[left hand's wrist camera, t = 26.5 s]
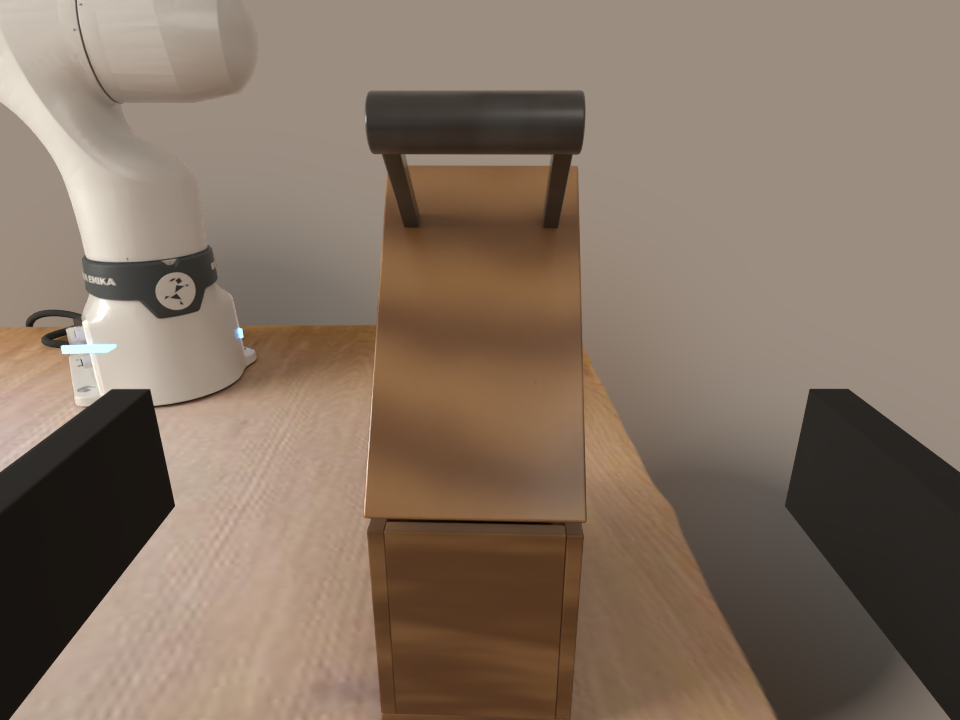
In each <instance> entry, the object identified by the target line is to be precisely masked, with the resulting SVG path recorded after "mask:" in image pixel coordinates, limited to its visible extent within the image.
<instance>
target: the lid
mask: <svg viewBox="0 0 960 720" xmlns="http://www.w3.org/2000/svg"><path fill="white" fill-rule="evenodd" d="M365 126H366V135H367V141H368V145H369V148H370V150H371V152H372V153H373V154H382V156H383V159H384V163H385V166H386V169H387V181H386V196H385V210H384V224H383V239H382V253H381V267H380V282H379V296H378V311H377V325H376V340H375V354H374V368H373V383H372V397H371V412H370V426H369V441H368V455H367V469H366V484H365V498H364V513H363V516H364V517H365V518H370V519H413V520H460V521H508V522H555V523H584V522H586V520H587V517H586V476H585V435H584V394H583V352H582V313H581V270H580V229H579V188H578V167H577V166H570V165H571V160H572V155H573V154H575V155H576V154H580V152H581V150H582V145H583V139H584V129H585V96H584V93H583V91H580V90H579V91H578V90H576V91H575V90H574V91H573V90H572V91H369V92H368V94H367V97H366V103H365ZM405 154H551V160H550V166H408V165H407V161H406V157H405Z"/></svg>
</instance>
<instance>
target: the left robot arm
mask: <svg viewBox="0 0 960 720" xmlns="http://www.w3.org/2000/svg"><path fill="white" fill-rule="evenodd" d="M174 507H175V503H174V499H173V494H172V489H171V484H170V480H169V475H168V470H167V466H166V461H165V456H164V451H163V447H162V442H161V437H160V433H159V428H158V423H157V418H156V414H155V409H154V404H153V400H152V395H151V390H150V389H111V390H110V391H108V392H107V393H106V394H104V395H103V396H102V397H100V398H99V399H98V400H96V401H95V402H94V403H92V404H91V405H90V406H88V407H87V408H86V409H84V410H83V411H82V412H80V413H79V414H78V415H76V416H75V417H74V418H72V419H71V420H70V421H68V422H67V423H66V424H64V425H63V426H62V427H60V428H59V429H58V430H56V431H55V432H54V433H52V434H51V435H50V436H48V437H47V438H46V439H44V440H43V441H41V442H40V443H39V444H37V445H36V446H35V447H33V448H32V449H31V450H29V451H28V452H27V453H25V454H24V455H23V456H21V457H20V458H19V459H17V460H16V461H15V462H13V463H12V464H11V465H9V466H8V467H7V468H5V469H4V470H3V471H1V472H0V720H9V719H10V718H11V716H12V715H13V714H14V712H15V711H16V710H17V709H18V707H19V706H20V705H21V703H22V702H23V701H24V700H25V698H26V697H27V696H28V694H29V693H30V692H31V691H32V689H33V688H34V687H35V685H36V684H37V683H38V682H39V680H40V679H41V678H42V676H43V675H44V674H45V673H46V671H47V670H48V669H49V667H50V666H51V665H52V664H53V662H54V661H55V660H56V658H57V657H58V656H59V655H60V653H61V652H62V651H63V649H64V648H65V647H66V646H67V644H68V643H69V642H70V640H71V639H72V638H73V637H74V635H75V634H76V633H77V631H78V630H79V629H80V628H81V626H82V625H83V624H84V622H85V621H86V620H87V619H88V617H89V616H90V615H91V613H92V612H93V611H94V610H95V608H96V607H97V606H98V604H99V603H100V602H101V601H102V599H103V598H104V597H105V595H106V594H107V593H108V592H109V590H110V589H111V588H112V586H113V585H114V584H115V583H116V581H117V580H118V579H119V577H120V576H121V575H122V574H123V572H124V571H125V570H126V568H127V567H128V566H129V565H130V563H131V562H132V561H133V559H134V558H135V557H136V556H137V554H138V553H139V552H140V550H141V549H142V548H143V547H144V545H145V544H146V543H147V541H148V540H149V539H150V538H151V536H152V535H153V534H154V532H155V531H156V530H157V529H158V527H159V526H160V525H161V523H162V522H163V521H164V520H165V518H166V517H167V516H168V514H169V513H170V512H171V511H172V509H173V508H174ZM785 507H786V508H787V509H788V511H789V512H790V513H791V514H792V516H793V517H794V518H795V520H796V521H797V522H798V523H799V525H800V526H801V527H802V529H803V530H804V531H805V532H806V534H807V535H808V536H809V538H810V539H811V540H812V541H813V543H814V544H815V545H816V547H817V548H818V549H819V550H820V552H821V553H822V554H823V555H824V557H825V558H826V559H827V561H828V562H829V563H830V565H831V566H832V567H833V568H834V570H835V571H836V572H837V574H838V575H839V576H840V577H841V579H842V580H843V581H844V583H845V584H846V585H847V586H848V588H849V589H850V590H851V592H852V593H853V594H854V595H855V597H856V598H857V599H858V601H859V602H860V603H861V604H862V606H863V607H864V608H865V610H866V611H867V612H868V613H869V615H870V616H871V617H872V619H873V620H874V621H875V622H876V624H877V625H878V626H879V628H880V629H881V630H882V631H883V633H884V634H885V635H886V637H887V638H888V639H889V640H890V642H891V643H892V644H893V646H894V647H895V648H896V649H897V651H898V652H899V653H900V655H901V656H902V657H903V658H904V660H905V661H906V662H907V664H908V665H909V666H910V667H911V669H912V670H913V671H914V673H915V674H916V675H917V676H918V678H919V679H920V680H921V682H922V683H923V684H924V685H925V687H926V688H927V689H928V691H929V692H930V693H931V694H932V696H933V697H934V698H935V700H936V701H937V702H938V703H939V705H940V706H941V707H942V709H943V710H944V711H945V712H946V714H947V715H948V716H949V718H950V719H951V720H960V472H959V471H957V470H956V469H955V468H953V467H952V466H951V465H949V464H948V463H947V462H945V461H944V460H943V459H941V458H940V457H939V456H937V455H936V454H935V453H933V452H932V451H931V450H929V449H928V448H927V447H925V446H924V445H923V444H921V443H920V442H918V441H917V440H916V439H914V438H913V437H912V436H910V435H909V434H908V433H906V432H905V431H904V430H902V429H901V428H900V427H898V426H897V425H896V424H894V423H893V422H892V421H890V420H889V419H888V418H886V417H885V416H884V415H882V414H881V413H880V412H878V411H877V410H876V409H874V408H873V407H872V406H870V405H869V404H868V403H866V402H865V401H864V400H862V399H861V398H860V397H858V396H857V395H856V394H854V393H853V392H852V391H850V390H849V389H810V390H809V395H808V400H807V404H806V409H805V414H804V418H803V423H802V428H801V433H800V437H799V442H798V447H797V451H796V456H795V461H794V466H793V470H792V475H791V480H790V484H789V490H788V494H787V499H786V503H785Z"/></svg>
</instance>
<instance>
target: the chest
mask: <svg viewBox="0 0 960 720" xmlns="http://www.w3.org/2000/svg"><path fill="white" fill-rule="evenodd" d="M367 538H368V550H369V563H370V575H371V588H372V600H373V613H374V626H375V638H376V651H377V663H378V676H379V688H380V701H381V712H382V720H570V716H571V702H572V688H573V675H574V661H575V647H576V634H577V620H578V607H579V593H580V579H581V566H582V552H583V538H584V536H583V530H582V525H581V523H555V522H508V521H460V520H413V519H371V521H370V524H369V527H368V530H367Z"/></svg>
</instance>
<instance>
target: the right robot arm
mask: <svg viewBox="0 0 960 720" xmlns="http://www.w3.org/2000/svg"><path fill="white" fill-rule="evenodd" d="M257 59H258V39H257V33H256V28H255V25H254V22H253V19H252V17H251V15H250V13H249V11H248V9H247V7H246V5H245V4H244V2H243V0H0V102H1V103H2V104H4V105H5V106H7V107H8V108H9V109H10V110H12V111H13V112H14V113H15V114H16V115H17V116H18V117H19V118H20V119H21V120H23V121H24V123H26V124H27V125H28V127H29V128H30V129H31V130H32V131H33V132H34V133H35V134H36V136H37V137H38V138H39V139H40V141H41V142H42V143H43V145H44V146H45V147H46V149H47V150H48V152H49V153H50V155H51V156H52V158H53V159H54V161H55V163H56V165H57V167H58V169H59V170H60V172H61V175H62V177H63V179H64V182H65V184H66V187H67V190H68V194H69V197H70V200H71V203H72V206H73V209H74V213H75V216H76V219H77V223H78V227H79V230H80V234H81V238H82V242H83V247H84V251H85V256H84V257H83V258H82V264H83V269H82V273H83V278H84V279H85V286H86V290H87V292H88V293H90V295H89V298H88V301H87V303H86V305H85V308H84V311H83V314H82V315H81V314H78V313H74V312H70V311H64V310H44V311H39V312H36V313H34V314H33V315H31V316H30V317H29V318H28V319H27V321H26V327H33V324H34V322H35V321H36V320H37V319H39V318H42V317H47V316H61V317H68V318H73V321H74V326H70V327H67V328H63V329H60V330H57V331H53V332H51V333H48V334H46V335H45V336H43V337H42V339H41V341H42V343H43V344H44V345H47V346H50V347H56V348H61V349H62V353H63V354H72V353H74V354H72V355H70V356H69V363H70V371H71V378H72V385H73V392H74V399H75V404H76V405H77V406H81V407H87V406H90V405H91V404H92V403H94V402H95V401H96V400H98V399H99V398H100V397H102V396H103V395H104V394H106V393H107V392H108V391H110V390H111V389H150V390H151V395H152V400H153V404H154V406H157V405H166V404H172V403H178V402H183V401H188V400H192V399H196V398H199V397H203V396H206V395H209V394H211V393H214V392H217V391H219V390H221V389H223V388H225V387H227V386H229V385H231V384H232V383H234V382H235V381H236V380H238V379H239V378H240V377H241V375H242V374H243V371H244V369H245V368H246V366H248V365H250V364H251V363H253V362H254V361H255V360H256V359H257V356H256V352H255V350H253V349H251V348H247V347H244V346H243V341H242V338H243V332H242V329H240V328H239V323H238V319H237V314H236V310H235V306H234V301H233V298H232V296H231V294H229V293H227V292H226V291H225V290H223V289H221V288H220V287H219V286H218V285H217V284H216V283H215V282H216V280H217V272H216V260H215V258H214V256H213V251H212V248H211V247H210V246H209V245H207V239H206V233H205V227H204V221H203V214H202V208H201V202H200V196H199V190H198V183H197V180H196V178H195V176H194V174H193V172H192V170H191V169H190V168H189V166H188V165H187V164H186V163H185V162H184V161H183V160H181V159H180V158H179V157H178V156H176V155H175V154H173V153H171V152H169V151H167V150H165V149H163V148H161V147H159V146H157V145H154V144H152V143H150V142H147V141H145V140H143V139H141V138H140V137H139V136H138V135H137V134H136V133H135V132H134V131H133V130H132V129H131V127H130V126H129V124H128V123H127V121H126V119H125V117H124V115H123V112H122V109H121V104H122V103H195V102H201V101H206V100H211V99H217V98H221V97H225V96H230V95H234V94H238V93H241V92H242V91H243V89H244V88H245V87H246V86H247V84H248V83H249V81H250V80H251V78H252V76H253V73H254V70H255V68H256V64H257ZM64 335H67V336H68V340H69V341H56V340H52V339H55V338H58V337H61V336H64Z"/></svg>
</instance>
